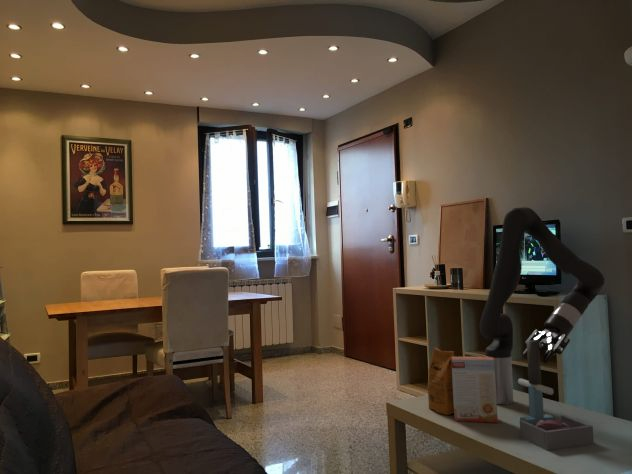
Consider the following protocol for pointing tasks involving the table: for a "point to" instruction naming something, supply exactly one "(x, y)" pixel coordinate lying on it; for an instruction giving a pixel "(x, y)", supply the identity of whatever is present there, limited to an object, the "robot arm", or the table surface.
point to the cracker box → (474, 389)
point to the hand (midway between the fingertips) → (533, 359)
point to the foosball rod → (535, 385)
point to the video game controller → (551, 425)
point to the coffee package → (441, 382)
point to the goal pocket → (558, 434)
